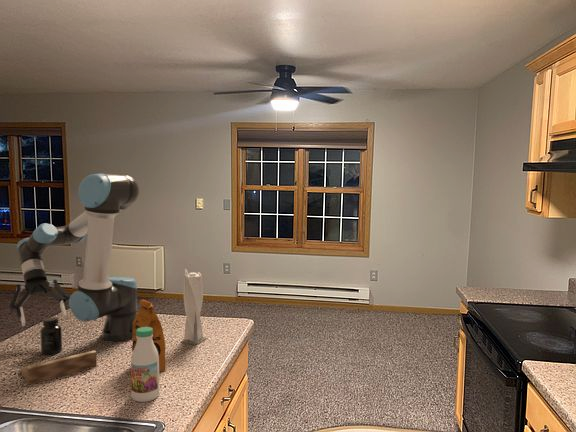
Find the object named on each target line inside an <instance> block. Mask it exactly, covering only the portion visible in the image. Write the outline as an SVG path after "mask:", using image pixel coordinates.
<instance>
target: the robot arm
mask: <svg viewBox="0 0 576 432" xmlns="http://www.w3.org/2000/svg"><path fill="white" fill-rule="evenodd" d="M77 195H78V199H79V202H80V204H81V205H82V206H83V207H84V212H82V213H80V214H79V215H78V216H76V218H74V219H73V220H72V221H71V222H69V223H68V224H67V225H63V226H54V225H53V224H52V223H47V222H45V223H41V224H39V225H38V227H36V228H35V229H34V230H33V232H32V234H31V235H30V236H29V237H26V238H25V237H24V238H23V239H21V240H19V241H18V242H17V246H16V247H17V254H18V258H19V262H20V266H21V270H22V276H23V280H24V285H21V284H17V285H16V287H15V288H16V289H15V293H14V295H13V298H12V299H11V302H10V304H9V311H14V312H15V314H16V318H17V319H20V322H21V323H20V324H21V327H25V326H26V317H25V313H24V307H23V306H24V305H25V303H26V302H27V301H28V300H29V298H30V297H31V296H38V295H44V294H45V295H47V296H49V297H51V298H53V299H55V300H56V301H58V302H59V307H60V310H61V314H62V318H63V320H65V319H67V316H68V315H67V310H68V306H69V309H70V311H71V313H72V314H73V316H74V317H75V318H76V319H77V320H78V321H81V322H83V323H85V322H91V321H97V319H99V318H104V317H106V318H105V320H104V323H103V327H102V329H101V336H102V337H101V338H103V339H104V340H106V341H113V342H118V341H119V342H121V341H128V340H132V338H133V321H134V319H135V317H136V315H137V313H138V285H137V280H136V279H135V278H133V277H125V276H124V277H123V276H113V277H111V276H110V267H111V255H112V247H113V235H114V227H115V226H114V225H115V217H116V216H118V215H119V214H120V211H123V210H125V211H126V210H127V209H128V208H129V207H130V206H132V205H134V203H136V201H137V200H138V198H139V197H140V196H139V195H140V186H139V184H138V182H137V180H136V179H135V178H134V177H132V176H130V175H127V174H124V173H101V172H99V173H94V174H93V173H92V174H89V175H86V177H85V178H83V179H82V180H81V182H80V184H79V186H78V193H77ZM85 239H86V243H85V254H84V255H85V256H84V266H83V275H82V276H83V277H82V279H81V280H79V281H78V283H77V291H74V292H72V294H69V293H68V292H67V291H66V290H65V289H64V288H63V287H62V286H61V285H60V284H59V283H58V280H57V279H53V280H52V281H48V278H47V273H46V271H45V266H44V262H43V258H42V257H43V256H42V255H43V254H44V253H45V252H46V251H47V249H49V248H51V247H57V246H65V245H71V244H72V245H73V244H77V243H81V242H83V241H84V240H85ZM50 286H51V287H50ZM52 288H53V289H54V290H53V289H52ZM23 290H24V291H26V293H25V294H24V295H23V296H22V298H21V299H20V301H19V302H18V299H19V296H20V295H21V292H23ZM16 303H17V304H16ZM68 304H69V305H68Z"/></svg>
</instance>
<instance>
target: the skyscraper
mask: <svg viewBox="0 0 576 432" xmlns="http://www.w3.org/2000/svg"><path fill="white" fill-rule="evenodd" d="M203 286H204V285H203V276H202V273H201V272H200V271H198V272H188V269H187V268H184V280H183V295H182V296H183V305H184V311H185V316H186V317H185V318H186V319H185V325H184V326H185V327H184V335H183V339H182V340H180V342H181V343H183V344H187V345H188V344H189V345H194V346H198V345H200V344H201V343H202V342H204V341H206V340H207V337H204V333H203V326H202V324H203V323H202V319H201V312H202V306H203V300H204V287H203Z"/></svg>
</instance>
